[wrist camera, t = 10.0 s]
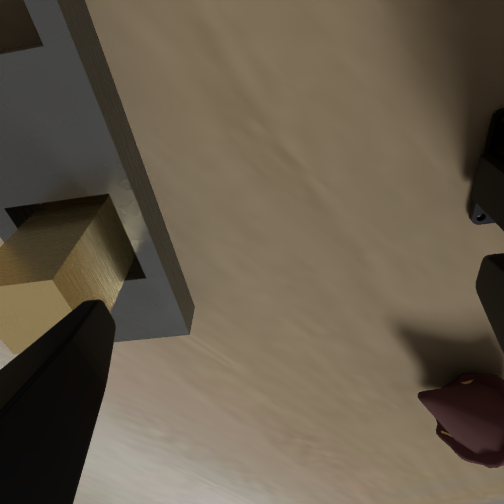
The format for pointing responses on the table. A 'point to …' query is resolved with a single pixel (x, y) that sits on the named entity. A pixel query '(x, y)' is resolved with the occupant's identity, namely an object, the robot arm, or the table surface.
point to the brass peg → (60, 266)
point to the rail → (85, 160)
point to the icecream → (470, 417)
